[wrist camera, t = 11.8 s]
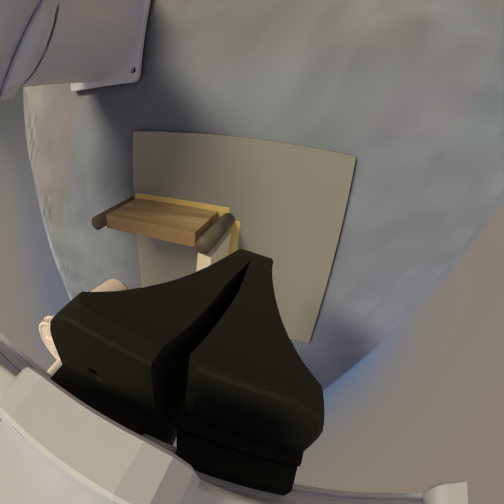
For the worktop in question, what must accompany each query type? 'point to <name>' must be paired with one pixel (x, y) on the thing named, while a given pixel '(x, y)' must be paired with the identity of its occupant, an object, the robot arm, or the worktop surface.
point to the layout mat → (249, 209)
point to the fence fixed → (167, 222)
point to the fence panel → (214, 252)
